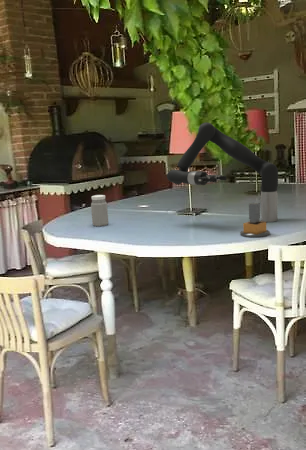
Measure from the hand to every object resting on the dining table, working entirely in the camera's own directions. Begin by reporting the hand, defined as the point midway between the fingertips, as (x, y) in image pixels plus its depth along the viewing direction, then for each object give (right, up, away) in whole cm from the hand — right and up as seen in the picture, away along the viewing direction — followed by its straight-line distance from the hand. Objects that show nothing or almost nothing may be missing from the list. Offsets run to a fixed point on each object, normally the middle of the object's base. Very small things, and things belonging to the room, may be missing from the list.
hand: (221, 179), depth 283 cm
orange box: (+16, -29, -8) cm, 35 cm away
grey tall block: (+16, -28, -9) cm, 34 cm away
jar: (-68, -25, +42) cm, 84 cm away
